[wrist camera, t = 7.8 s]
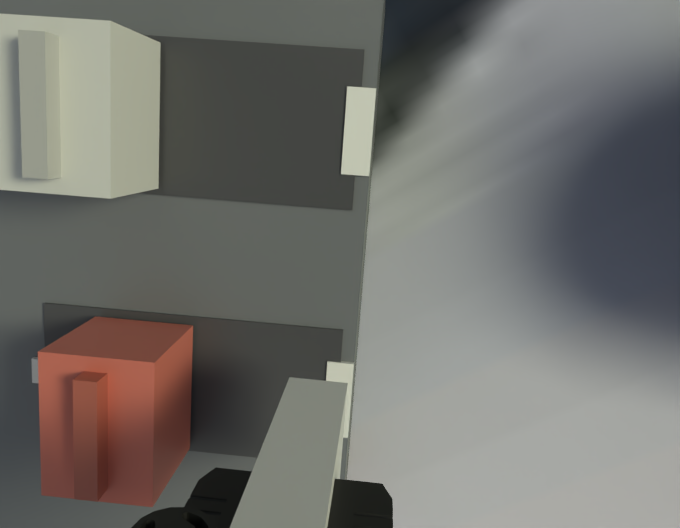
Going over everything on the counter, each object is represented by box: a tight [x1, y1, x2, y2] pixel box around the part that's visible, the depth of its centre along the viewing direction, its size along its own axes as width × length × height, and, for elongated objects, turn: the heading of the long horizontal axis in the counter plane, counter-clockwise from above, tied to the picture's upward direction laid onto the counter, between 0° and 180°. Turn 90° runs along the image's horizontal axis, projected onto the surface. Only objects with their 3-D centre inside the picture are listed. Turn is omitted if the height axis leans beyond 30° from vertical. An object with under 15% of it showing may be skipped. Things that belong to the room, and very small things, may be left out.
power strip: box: [0, 0, 385, 528], centre depth 21 cm, size 30×12×4 cm, turn 176°
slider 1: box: [0, 14, 161, 199], centre depth 16 cm, size 4×3×4 cm
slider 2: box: [38, 316, 193, 507], centre depth 17 cm, size 4×3×4 cm
